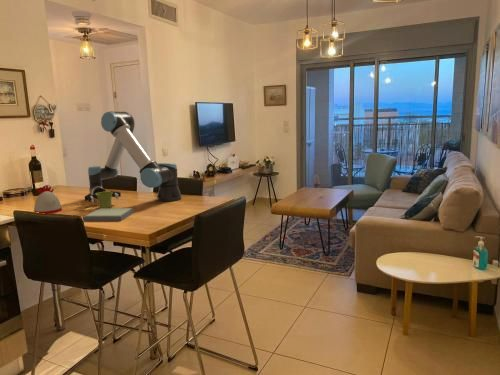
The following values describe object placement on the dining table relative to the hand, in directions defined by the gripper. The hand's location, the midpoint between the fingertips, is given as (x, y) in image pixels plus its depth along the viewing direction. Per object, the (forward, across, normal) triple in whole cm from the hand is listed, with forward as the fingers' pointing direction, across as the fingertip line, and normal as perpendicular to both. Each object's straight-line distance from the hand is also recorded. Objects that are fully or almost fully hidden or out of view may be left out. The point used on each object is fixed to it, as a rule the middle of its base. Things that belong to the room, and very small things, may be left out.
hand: (105, 198), depth 214 cm
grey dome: (-14, +29, -6) cm, 33 cm away
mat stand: (+21, +2, -6) cm, 22 cm away
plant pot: (-3, 0, -6) cm, 7 cm away
